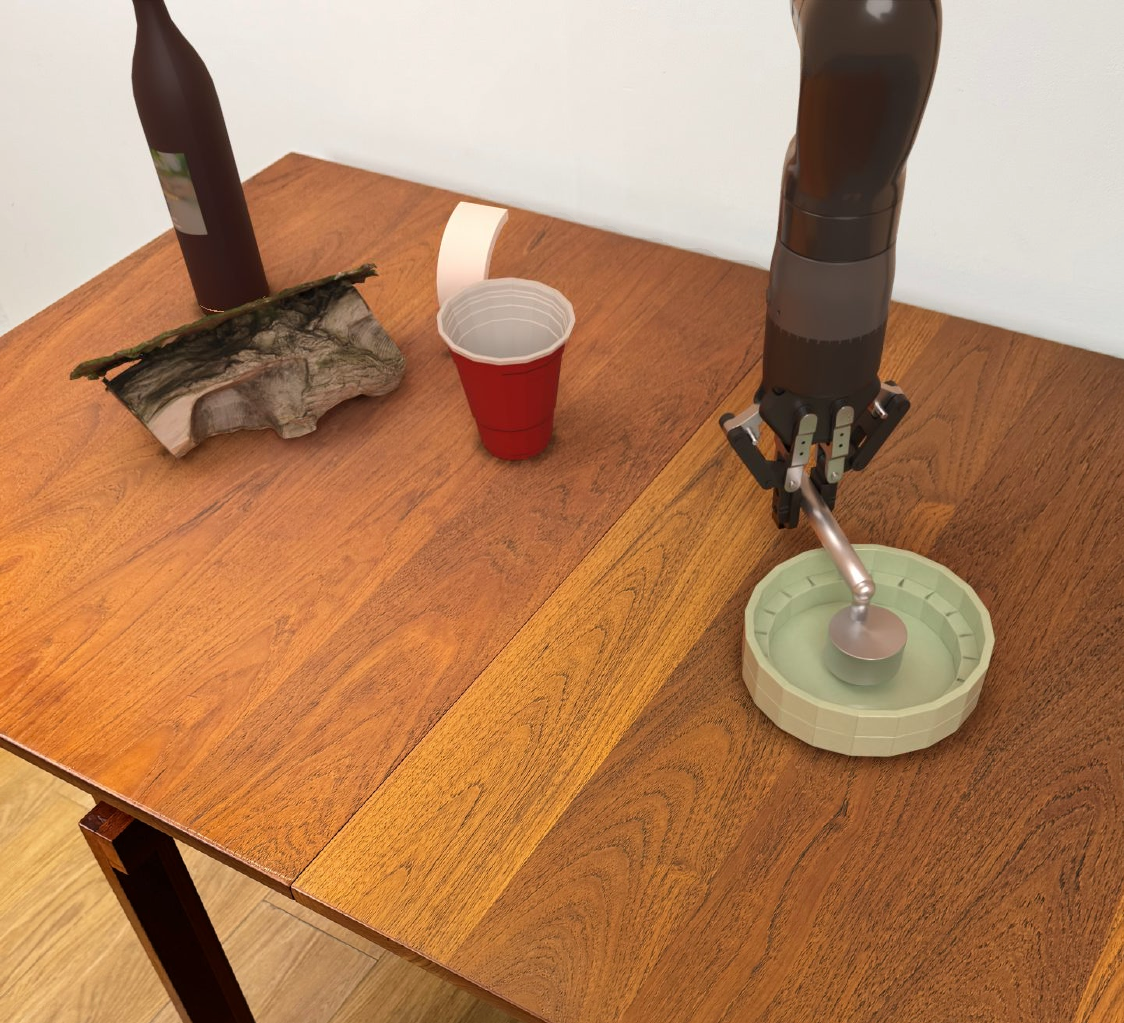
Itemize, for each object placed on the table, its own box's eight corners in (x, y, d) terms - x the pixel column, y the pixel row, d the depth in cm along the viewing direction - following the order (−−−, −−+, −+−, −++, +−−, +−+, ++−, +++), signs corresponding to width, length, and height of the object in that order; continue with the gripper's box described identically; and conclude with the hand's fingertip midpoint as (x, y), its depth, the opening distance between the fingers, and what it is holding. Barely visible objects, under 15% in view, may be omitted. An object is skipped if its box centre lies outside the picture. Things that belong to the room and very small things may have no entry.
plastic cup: (510, 499, 98) (495, 370, 89) (429, 442, 104) (407, 314, 94) (608, 440, 102) (604, 311, 93) (526, 388, 108) (514, 261, 98)
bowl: (918, 571, 90) (929, 524, 87) (1022, 730, 80) (1038, 684, 76) (710, 616, 88) (713, 570, 85) (789, 785, 78) (796, 741, 75)
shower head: (746, 516, 93) (751, 455, 88) (810, 503, 93) (818, 441, 89) (841, 693, 81) (852, 631, 76) (913, 676, 82) (929, 614, 77)
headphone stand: (520, 334, 113) (508, 209, 104) (490, 369, 110) (476, 243, 101) (476, 325, 115) (461, 201, 105) (446, 359, 111) (427, 234, 102)
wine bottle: (202, 287, 122) (97, -53, 99) (272, 279, 122) (183, -62, 99) (196, 325, 118) (85, -22, 94) (269, 317, 118) (175, -32, 95)
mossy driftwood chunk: (133, 516, 107) (115, 484, 92) (70, 379, 105) (42, 324, 91) (422, 408, 113) (448, 361, 99) (367, 277, 112) (385, 210, 97)
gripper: (743, 355, 72) (729, 571, 86) (957, 313, 74) (910, 532, 87) (703, 291, 77) (696, 506, 90) (906, 253, 78) (869, 470, 92)
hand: (802, 518), depth 89 cm, fingers closed on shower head
